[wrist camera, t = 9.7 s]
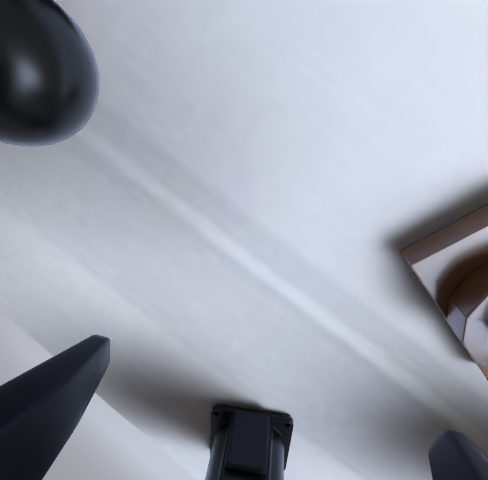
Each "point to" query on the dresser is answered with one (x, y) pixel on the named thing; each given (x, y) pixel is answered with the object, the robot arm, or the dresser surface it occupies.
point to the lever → (43, 74)
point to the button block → (458, 278)
